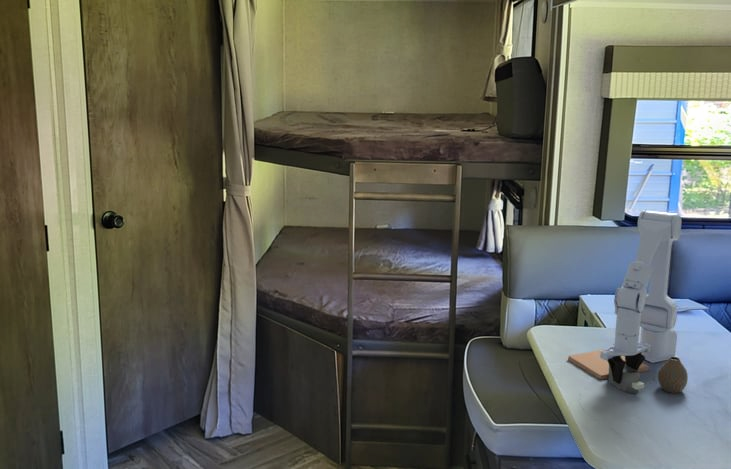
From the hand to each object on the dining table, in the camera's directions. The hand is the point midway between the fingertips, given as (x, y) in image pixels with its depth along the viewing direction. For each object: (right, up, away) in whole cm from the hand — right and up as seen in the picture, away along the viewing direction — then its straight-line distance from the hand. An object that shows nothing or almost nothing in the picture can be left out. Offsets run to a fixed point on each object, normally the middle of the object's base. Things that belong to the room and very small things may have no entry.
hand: (623, 380), depth 172 cm
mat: (+1, +2, +13) cm, 13 cm away
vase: (+12, -2, -2) cm, 12 cm away
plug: (0, -1, 0) cm, 1 cm away
